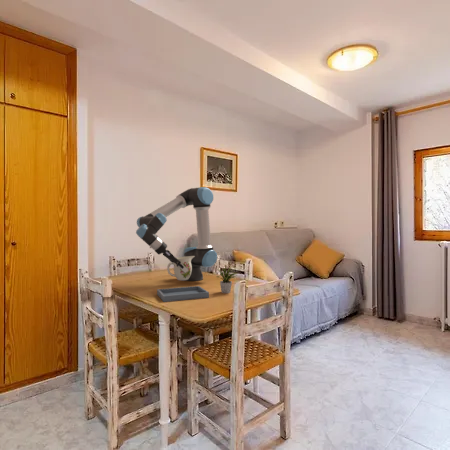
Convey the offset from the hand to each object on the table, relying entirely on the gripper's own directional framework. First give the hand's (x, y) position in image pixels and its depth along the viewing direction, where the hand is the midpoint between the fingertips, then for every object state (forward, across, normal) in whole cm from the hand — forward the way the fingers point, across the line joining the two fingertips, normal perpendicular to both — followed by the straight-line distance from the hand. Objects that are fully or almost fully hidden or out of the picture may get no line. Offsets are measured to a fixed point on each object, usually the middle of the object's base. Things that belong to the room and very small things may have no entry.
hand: (184, 269), depth 200 cm
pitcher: (+3, 0, -6) cm, 6 cm away
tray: (+4, +17, -12) cm, 21 cm away
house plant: (+22, +18, +5) cm, 29 cm away
